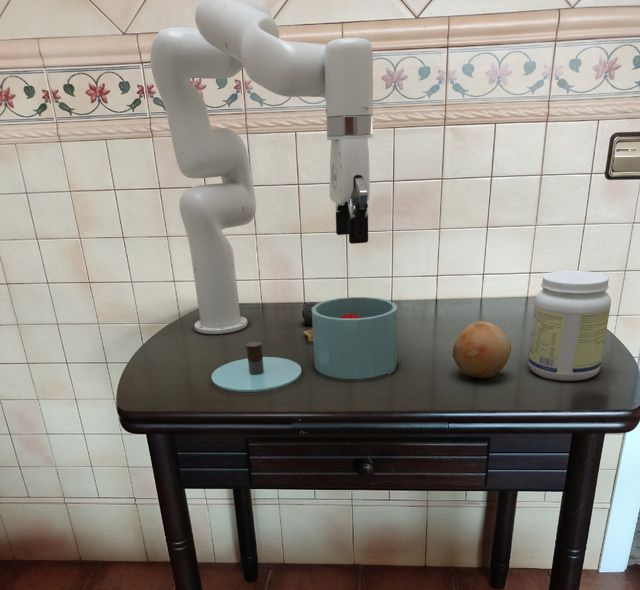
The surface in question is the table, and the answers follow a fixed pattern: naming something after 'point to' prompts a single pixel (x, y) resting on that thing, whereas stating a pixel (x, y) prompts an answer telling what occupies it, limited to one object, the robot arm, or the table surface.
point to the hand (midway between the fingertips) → (351, 238)
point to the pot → (355, 337)
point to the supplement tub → (569, 325)
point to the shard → (309, 335)
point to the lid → (256, 372)
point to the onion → (481, 350)
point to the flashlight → (308, 312)
